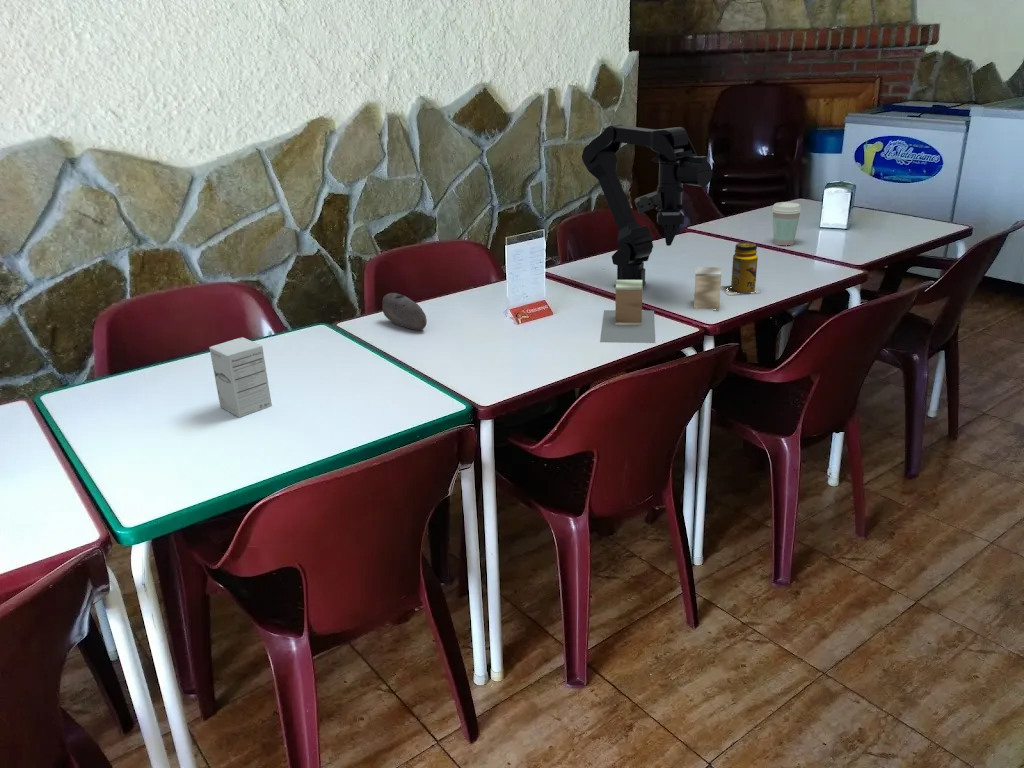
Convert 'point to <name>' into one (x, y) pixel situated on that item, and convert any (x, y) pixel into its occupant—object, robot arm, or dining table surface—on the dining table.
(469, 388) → the dining table surface
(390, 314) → the perforated stone tool
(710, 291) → the beech block
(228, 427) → the dining table surface
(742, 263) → the condiment
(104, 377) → the dining table surface
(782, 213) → the coffee cup
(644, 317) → the mat
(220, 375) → the supplement box
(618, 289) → the small carton
